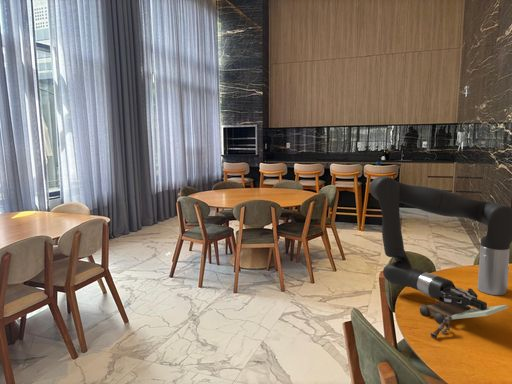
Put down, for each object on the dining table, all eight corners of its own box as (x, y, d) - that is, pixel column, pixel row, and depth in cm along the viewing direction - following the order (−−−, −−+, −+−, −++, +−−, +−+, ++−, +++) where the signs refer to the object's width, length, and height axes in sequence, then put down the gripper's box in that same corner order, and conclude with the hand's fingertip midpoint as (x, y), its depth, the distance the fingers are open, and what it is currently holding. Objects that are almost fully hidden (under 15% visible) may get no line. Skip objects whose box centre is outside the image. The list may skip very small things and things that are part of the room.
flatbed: (447, 304, 132) (447, 296, 132) (476, 317, 123) (476, 308, 122) (418, 313, 126) (419, 305, 125) (447, 327, 117) (447, 318, 116)
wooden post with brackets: (453, 328, 114) (450, 317, 113) (438, 346, 111) (435, 334, 109) (447, 326, 116) (445, 315, 114) (433, 343, 113) (430, 332, 111)
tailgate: (471, 309, 122) (506, 304, 112) (472, 312, 122) (508, 308, 111) (450, 316, 117) (485, 312, 107) (452, 319, 117) (487, 315, 107)
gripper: (421, 279, 124) (471, 299, 109) (449, 272, 130) (500, 290, 114) (420, 301, 125) (469, 323, 110) (447, 293, 131) (498, 314, 115)
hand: (485, 306), depth 112 cm, fingers closed
